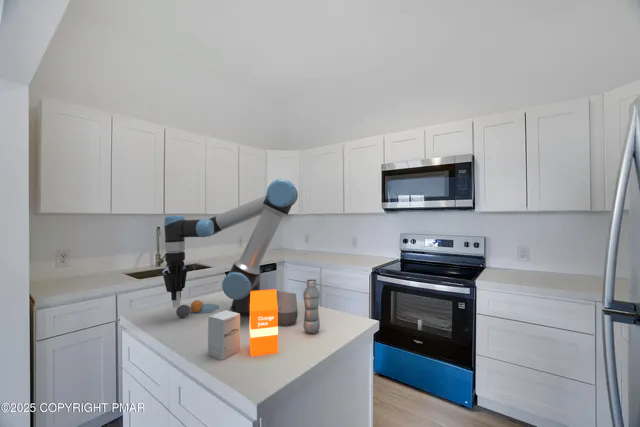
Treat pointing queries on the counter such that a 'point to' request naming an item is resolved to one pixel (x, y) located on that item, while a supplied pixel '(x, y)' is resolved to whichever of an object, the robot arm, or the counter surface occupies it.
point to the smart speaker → (287, 308)
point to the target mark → (207, 308)
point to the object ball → (196, 306)
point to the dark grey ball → (183, 311)
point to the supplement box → (223, 334)
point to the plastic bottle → (311, 307)
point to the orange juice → (263, 322)
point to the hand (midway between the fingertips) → (176, 307)
